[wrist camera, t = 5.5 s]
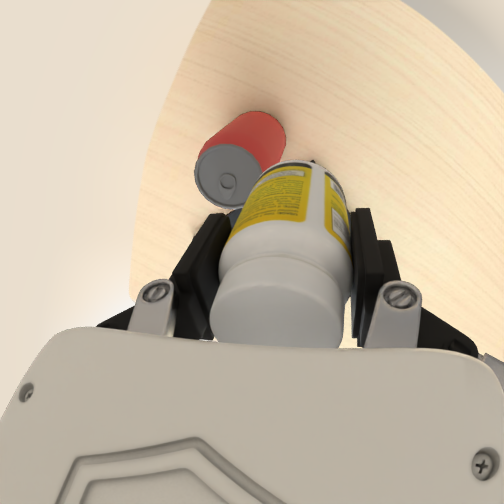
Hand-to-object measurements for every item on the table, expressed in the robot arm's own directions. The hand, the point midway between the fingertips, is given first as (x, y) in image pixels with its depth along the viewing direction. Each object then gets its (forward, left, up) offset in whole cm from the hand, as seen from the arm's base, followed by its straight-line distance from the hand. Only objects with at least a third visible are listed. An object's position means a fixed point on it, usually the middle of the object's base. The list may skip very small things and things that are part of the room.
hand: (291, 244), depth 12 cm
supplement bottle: (0, 0, -4) cm, 4 cm away
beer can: (-2, -6, -23) cm, 24 cm away
